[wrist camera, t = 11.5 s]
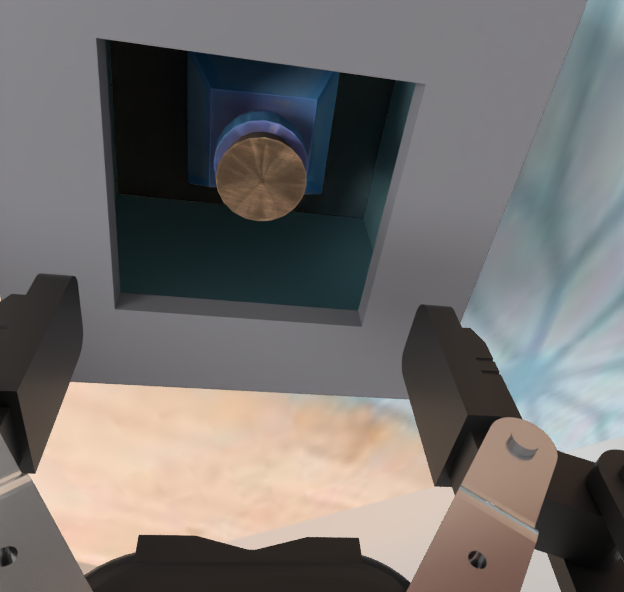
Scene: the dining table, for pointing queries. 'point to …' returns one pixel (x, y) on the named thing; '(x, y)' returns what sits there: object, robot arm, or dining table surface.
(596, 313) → the dining table surface
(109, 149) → the box
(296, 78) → the perfume bottle
